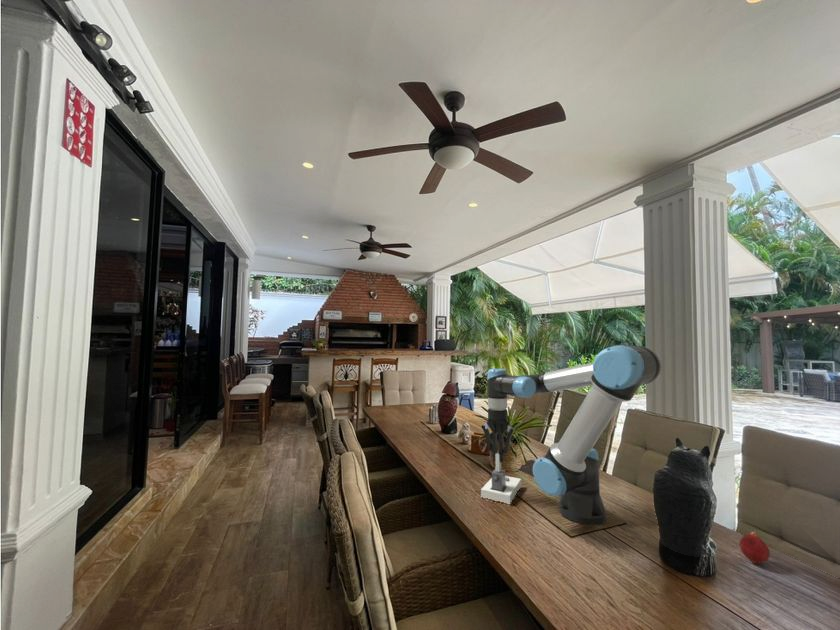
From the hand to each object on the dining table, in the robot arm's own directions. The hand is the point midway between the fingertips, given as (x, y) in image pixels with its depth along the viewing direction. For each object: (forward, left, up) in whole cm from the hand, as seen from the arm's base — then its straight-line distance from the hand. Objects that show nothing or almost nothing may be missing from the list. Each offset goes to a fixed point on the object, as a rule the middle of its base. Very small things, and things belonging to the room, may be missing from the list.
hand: (498, 470), depth 134 cm
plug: (0, 0, -10) cm, 10 cm away
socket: (0, -4, -10) cm, 11 cm away
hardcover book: (-9, -33, -11) cm, 36 cm away
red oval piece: (-72, +6, -10) cm, 73 cm away
